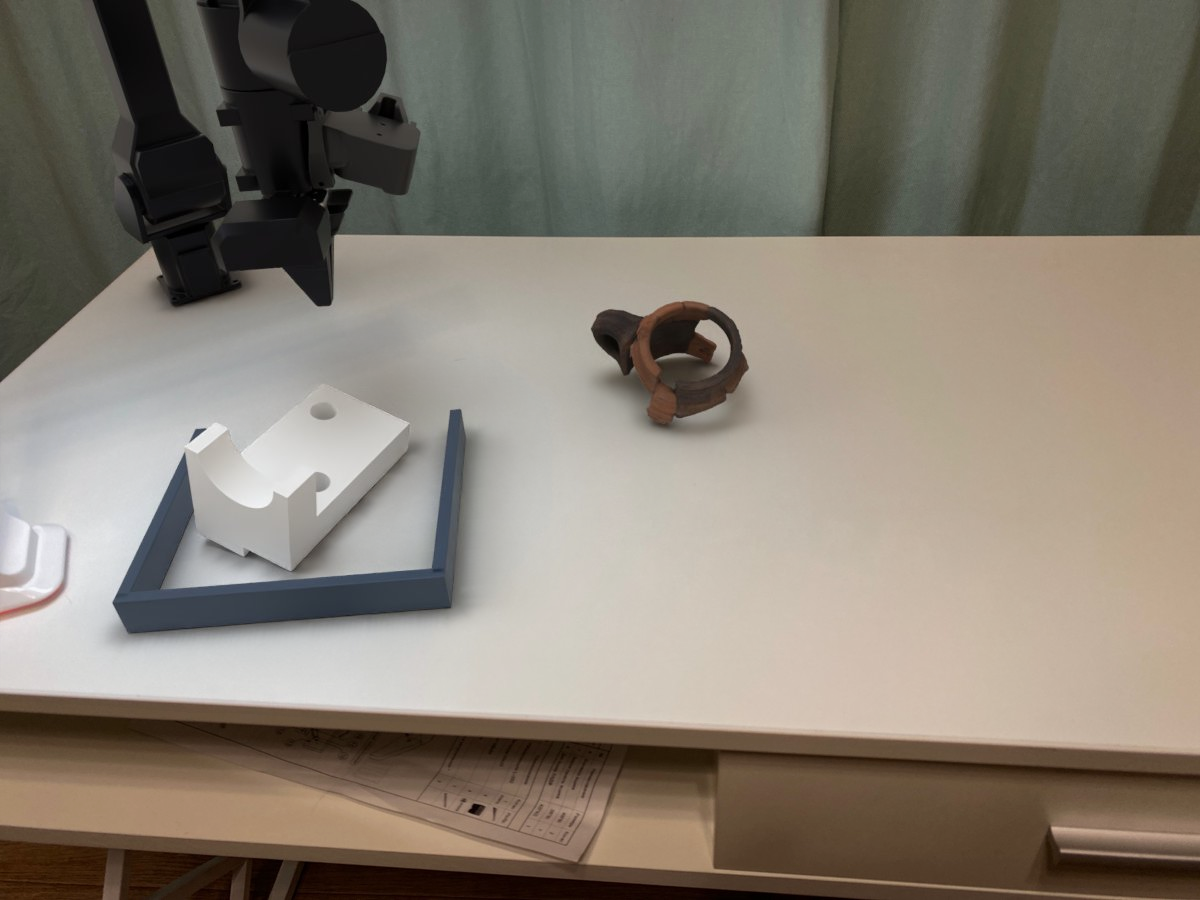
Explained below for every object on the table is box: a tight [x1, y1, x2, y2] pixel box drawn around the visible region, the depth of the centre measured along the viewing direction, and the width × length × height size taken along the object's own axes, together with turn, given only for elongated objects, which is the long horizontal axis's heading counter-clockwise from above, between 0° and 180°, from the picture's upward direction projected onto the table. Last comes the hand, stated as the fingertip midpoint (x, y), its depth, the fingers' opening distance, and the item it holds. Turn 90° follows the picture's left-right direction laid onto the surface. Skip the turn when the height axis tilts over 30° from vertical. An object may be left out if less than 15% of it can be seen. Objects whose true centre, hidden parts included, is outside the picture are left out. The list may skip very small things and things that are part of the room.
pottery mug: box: [590, 300, 750, 426], centre depth 70 cm, size 12×10×8 cm
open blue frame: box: [111, 408, 467, 634], centre depth 60 cm, size 17×19×2 cm
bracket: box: [183, 382, 410, 572], centre depth 61 cm, size 13×7×8 cm, turn 156°
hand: (325, 303), depth 67 cm, fingers closed
